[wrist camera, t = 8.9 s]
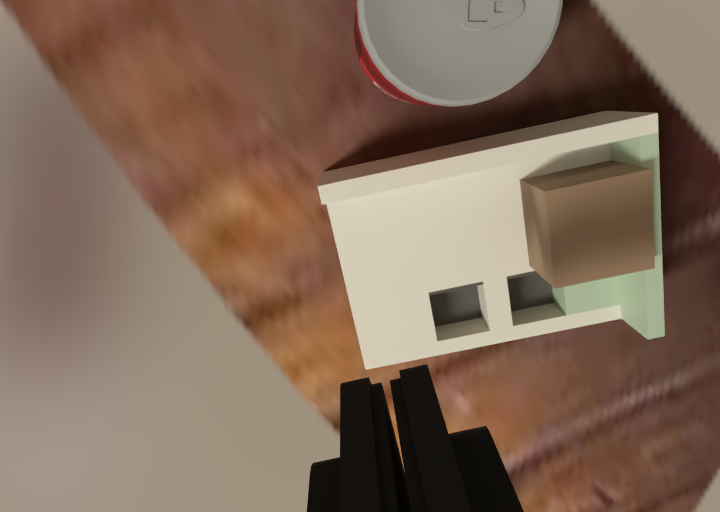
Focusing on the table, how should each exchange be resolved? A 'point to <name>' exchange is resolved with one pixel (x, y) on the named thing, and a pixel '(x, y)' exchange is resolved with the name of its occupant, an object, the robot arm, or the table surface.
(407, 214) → the trap box
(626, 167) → the block
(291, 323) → the table surface
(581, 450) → the table surface
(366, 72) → the canned food
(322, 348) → the table surface
